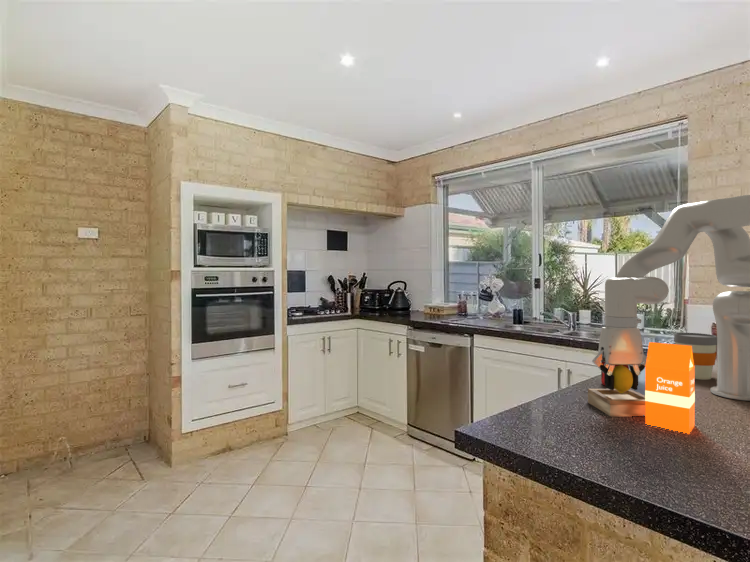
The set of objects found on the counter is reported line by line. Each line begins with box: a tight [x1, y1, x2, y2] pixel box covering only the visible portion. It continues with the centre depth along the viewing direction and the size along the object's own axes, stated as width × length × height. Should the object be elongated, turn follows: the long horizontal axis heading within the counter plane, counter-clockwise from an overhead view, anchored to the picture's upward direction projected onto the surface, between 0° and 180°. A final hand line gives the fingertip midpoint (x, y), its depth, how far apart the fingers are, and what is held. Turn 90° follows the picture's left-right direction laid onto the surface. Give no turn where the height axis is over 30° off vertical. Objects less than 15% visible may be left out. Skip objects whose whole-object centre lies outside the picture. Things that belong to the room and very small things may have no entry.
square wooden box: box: [587, 388, 645, 417], centre depth 114 cm, size 12×12×4 cm
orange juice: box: [644, 341, 696, 435], centre depth 101 cm, size 8×9×20 cm
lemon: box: [612, 365, 633, 393], centre depth 114 cm, size 6×6×8 cm
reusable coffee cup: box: [673, 332, 717, 380], centre depth 149 cm, size 12×13×15 cm
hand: (621, 387), depth 114 cm, fingers closed on lemon, 5 cm apart
